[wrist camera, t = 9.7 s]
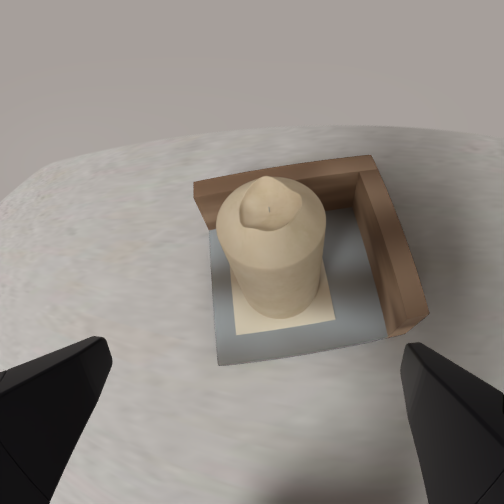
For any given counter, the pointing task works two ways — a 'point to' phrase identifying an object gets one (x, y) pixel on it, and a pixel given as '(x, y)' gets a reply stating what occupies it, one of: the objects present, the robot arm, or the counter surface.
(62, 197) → the counter surface
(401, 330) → the frame
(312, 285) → the candle
